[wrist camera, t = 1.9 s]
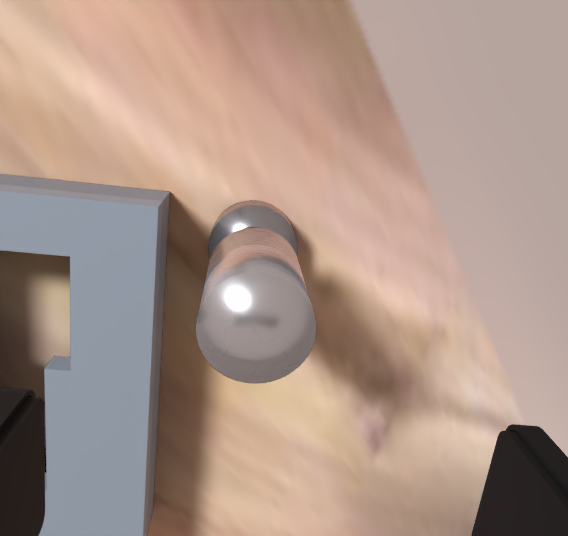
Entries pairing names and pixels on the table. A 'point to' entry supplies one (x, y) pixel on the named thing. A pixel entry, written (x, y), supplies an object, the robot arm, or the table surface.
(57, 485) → the keyhole plate
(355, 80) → the table surface
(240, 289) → the stud
